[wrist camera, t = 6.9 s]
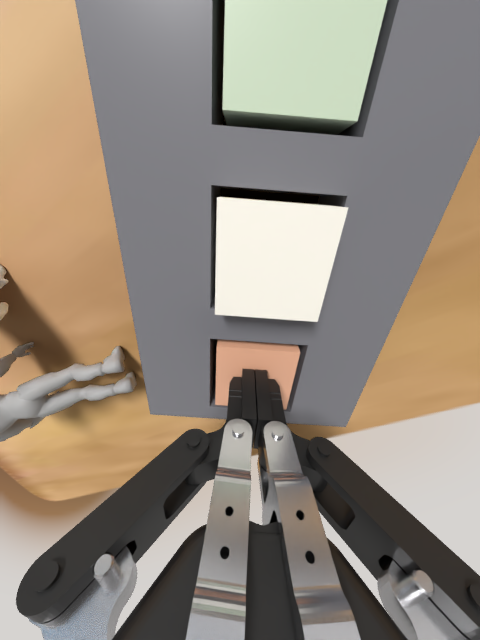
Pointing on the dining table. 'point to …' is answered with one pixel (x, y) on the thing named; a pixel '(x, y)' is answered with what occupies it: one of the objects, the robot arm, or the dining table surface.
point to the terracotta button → (255, 365)
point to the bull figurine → (0, 307)
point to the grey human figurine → (32, 397)
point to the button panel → (274, 188)
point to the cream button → (274, 257)
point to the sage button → (298, 62)
